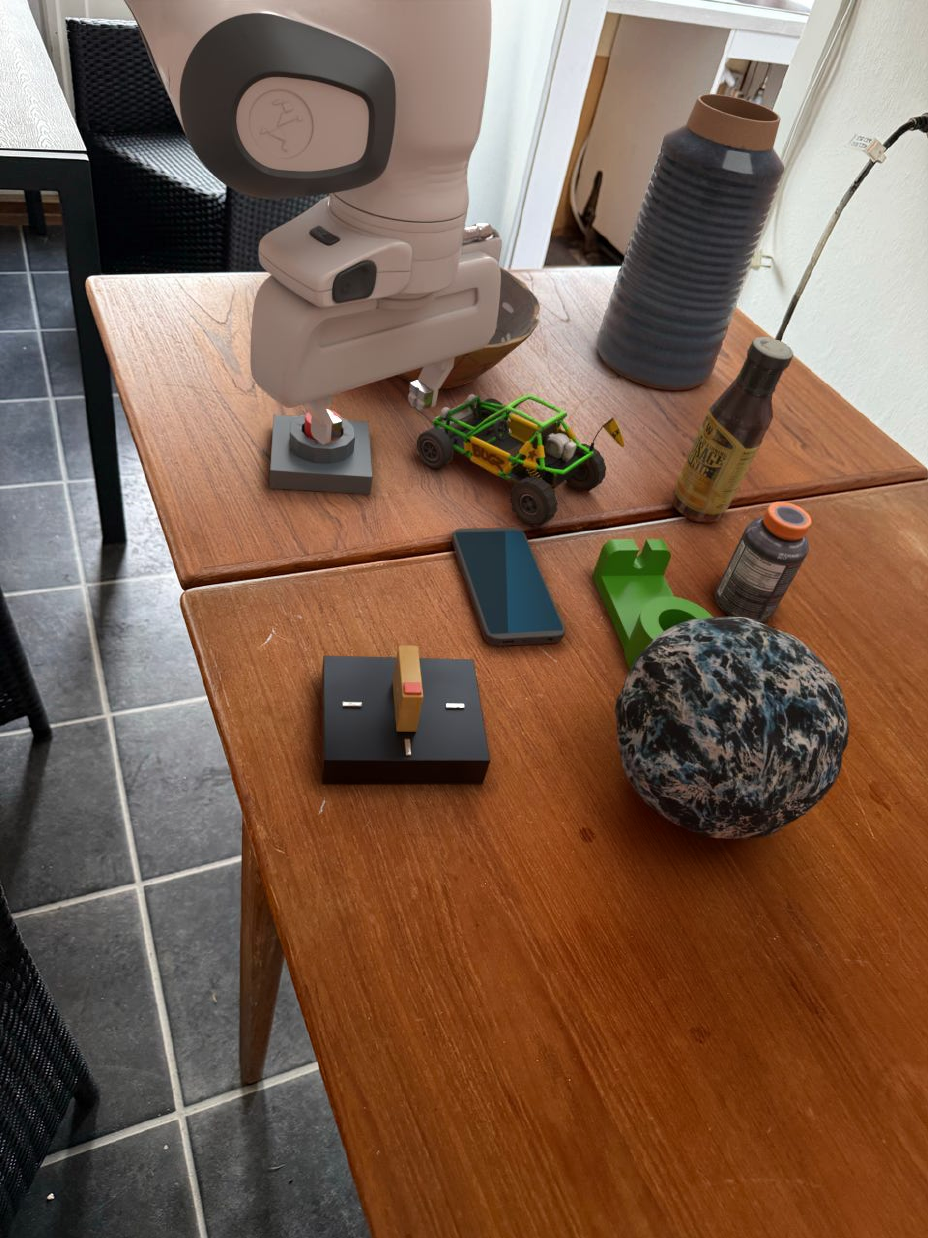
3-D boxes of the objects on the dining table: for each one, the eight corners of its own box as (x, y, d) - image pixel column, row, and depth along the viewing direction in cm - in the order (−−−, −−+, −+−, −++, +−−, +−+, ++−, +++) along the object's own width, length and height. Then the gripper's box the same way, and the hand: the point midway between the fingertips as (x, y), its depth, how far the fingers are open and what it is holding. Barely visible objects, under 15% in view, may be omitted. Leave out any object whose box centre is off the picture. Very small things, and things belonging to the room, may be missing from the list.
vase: (586, 372, 115) (663, 105, 93) (601, 322, 127) (673, 74, 105) (707, 405, 114) (814, 144, 92) (711, 351, 126) (806, 108, 104)
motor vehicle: (477, 421, 102) (494, 337, 95) (615, 501, 95) (644, 417, 88) (412, 456, 95) (425, 368, 88) (556, 546, 88) (583, 458, 81)
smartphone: (485, 647, 76) (487, 639, 75) (448, 534, 86) (449, 527, 86) (566, 642, 78) (569, 635, 77) (521, 533, 88) (523, 526, 88)
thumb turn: (392, 680, 68) (398, 642, 65) (411, 680, 68) (418, 643, 65) (396, 732, 64) (403, 694, 61) (416, 732, 65) (424, 695, 62)
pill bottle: (752, 581, 89) (799, 491, 81) (783, 622, 85) (837, 532, 78) (702, 586, 87) (746, 495, 79) (732, 629, 83) (782, 537, 76)
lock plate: (321, 785, 64) (324, 759, 61) (321, 680, 71) (323, 653, 68) (483, 784, 66) (490, 759, 64) (467, 683, 73) (473, 657, 71)
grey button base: (269, 488, 87) (270, 454, 84) (273, 431, 94) (273, 399, 91) (370, 494, 89) (374, 462, 86) (366, 438, 96) (370, 407, 93)
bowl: (314, 313, 114) (318, 236, 107) (494, 322, 121) (509, 250, 114) (340, 421, 97) (346, 337, 91) (547, 424, 104) (568, 347, 97)
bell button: (304, 441, 87) (304, 426, 86) (304, 421, 90) (305, 406, 89) (340, 443, 88) (341, 429, 87) (340, 424, 90) (341, 409, 89)
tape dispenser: (714, 690, 77) (734, 654, 74) (640, 693, 75) (657, 657, 72) (655, 574, 87) (671, 539, 84) (589, 575, 86) (602, 539, 82)
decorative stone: (611, 871, 62) (682, 742, 52) (582, 697, 74) (635, 563, 64) (819, 882, 65) (928, 761, 54) (760, 712, 76) (839, 585, 66)
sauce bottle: (659, 493, 98) (725, 326, 84) (706, 489, 100) (778, 326, 86) (686, 530, 94) (760, 361, 80) (735, 526, 96) (816, 361, 82)
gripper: (474, 202, 65) (447, 370, 75) (235, 244, 53) (238, 436, 63) (535, 236, 62) (498, 406, 72) (296, 287, 51) (290, 482, 60)
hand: (375, 421), depth 67 cm, fingers open, 8 cm apart
